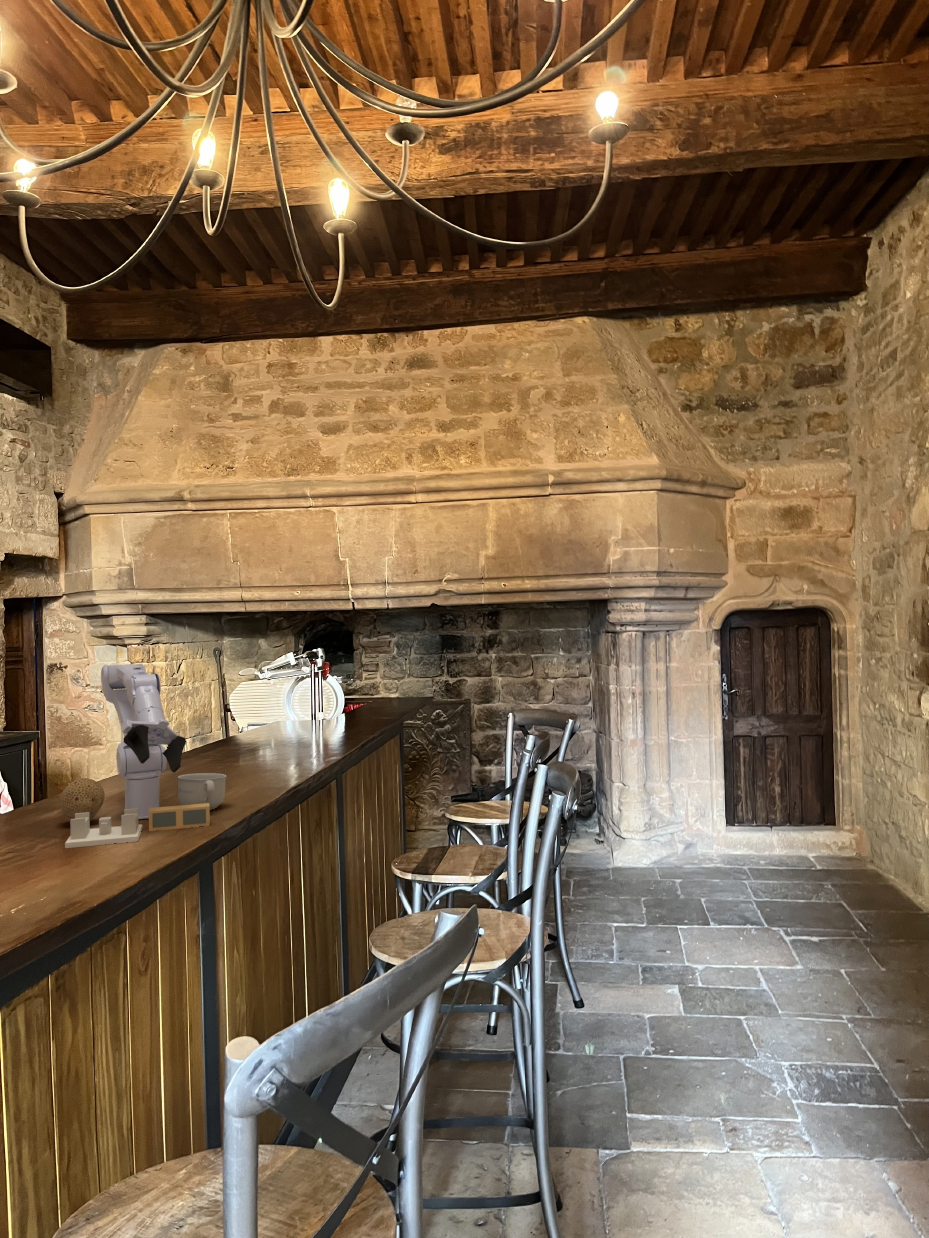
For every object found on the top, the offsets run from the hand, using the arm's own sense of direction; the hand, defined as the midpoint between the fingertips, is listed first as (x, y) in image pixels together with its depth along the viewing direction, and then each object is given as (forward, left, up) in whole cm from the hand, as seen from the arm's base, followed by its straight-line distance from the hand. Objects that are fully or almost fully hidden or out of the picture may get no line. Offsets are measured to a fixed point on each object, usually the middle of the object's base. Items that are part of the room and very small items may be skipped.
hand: (160, 764), depth 164 cm
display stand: (0, -11, -14) cm, 18 cm away
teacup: (-20, +8, -14) cm, 26 cm away
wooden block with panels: (-5, +3, -14) cm, 16 cm away
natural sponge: (-16, -17, -14) cm, 28 cm away
